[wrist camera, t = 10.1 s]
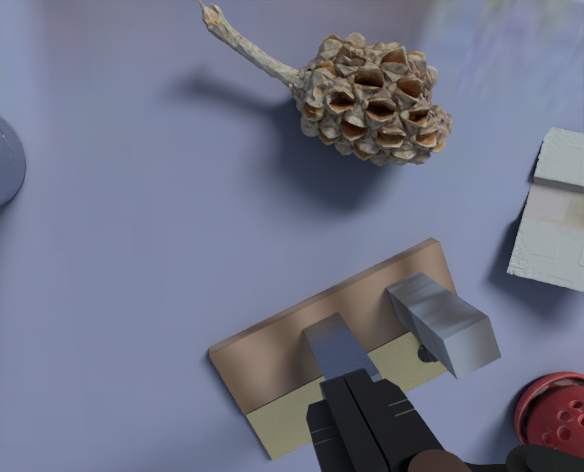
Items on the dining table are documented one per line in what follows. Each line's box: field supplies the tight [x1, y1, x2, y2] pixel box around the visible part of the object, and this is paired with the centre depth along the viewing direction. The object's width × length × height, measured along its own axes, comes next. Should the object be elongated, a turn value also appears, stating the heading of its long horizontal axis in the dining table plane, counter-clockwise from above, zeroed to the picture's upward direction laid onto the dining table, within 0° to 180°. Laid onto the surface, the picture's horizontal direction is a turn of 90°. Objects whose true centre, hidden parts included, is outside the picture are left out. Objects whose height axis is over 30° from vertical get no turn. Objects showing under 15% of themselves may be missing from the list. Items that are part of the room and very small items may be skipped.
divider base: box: [209, 238, 501, 415], centre depth 37 cm, size 26×12×12 cm, turn 114°
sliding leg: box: [303, 312, 382, 382], centre depth 37 cm, size 4×10×11 cm, turn 24°
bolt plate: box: [246, 331, 448, 461], centre depth 44 cm, size 26×7×1 cm, turn 114°
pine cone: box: [198, 0, 453, 167], centre depth 31 cm, size 22×10×10 cm, turn 71°
